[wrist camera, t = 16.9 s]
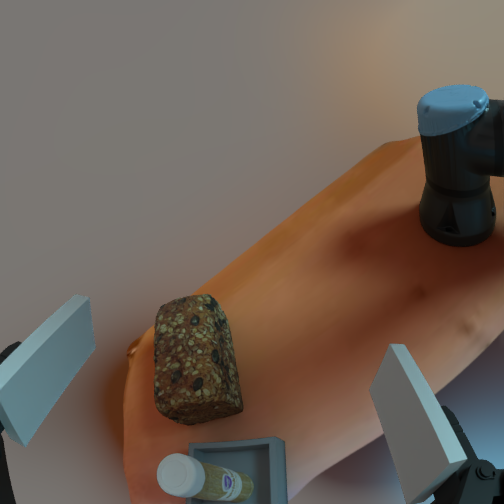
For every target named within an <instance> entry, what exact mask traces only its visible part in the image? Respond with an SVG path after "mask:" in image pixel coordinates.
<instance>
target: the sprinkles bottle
mask: <svg viewBox="0 0 504 504" xmlns="http://www.w3.org/2000/svg"><path fill="white" fill-rule="evenodd" d="M157 481H158V483H159V485H160V487H161V488H162V489H163V490H164V491H165V492H166V493H168V494H170V495H173V496H178V497H194V498H198V499H204V500H213V501H230V502H234V503H240V502H244V501H245V500H247V499H248V498H249V497H250V496H251V495H252V492H253V489H254V484H253V481H252V479H251V478H250V477H249V476H248V475H247V474H245V473H242V472H235V471H233V470H230V469H226V468H222V467H219V466H215V465H212V464H209V463H203V462H200V461H198V460H196V459H195V458H193V457H190V456H187V455H184V454H179V453H175V454H171V455H168V456H166V457H165V458H164V459H163V460H162V461H161V462H160V464H159V466H158V469H157Z"/></svg>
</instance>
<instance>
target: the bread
mask: <svg viewBox="0 0 504 504" xmlns="http://www.w3.org/2000/svg"><path fill="white" fill-rule="evenodd" d="M154 328H155V334H154V348H155V350H154V362H155V378H154V388H155V390H154V392H155V393H154V399H155V405H156V408H157V409H158V411H159V412H160V413H161V414H162V415H163V416H165V417H168V418H169V419H172V420H174V421H175V422H176V423H181V424H185V425H194V424H196V423H204V422H207V421H209V420H212V419H215V418H221V417H227V416H230V415H233V414H237V413H239V412H242V411H243V402H242V398H241V392H240V385H239V384H238V382H239V378H238V372H237V367H236V362H235V356H234V349H233V343H232V337H231V332H230V328H229V324H228V319H227V318H226V315H225V314H224V311H222V310H221V306H220V304H219V303H218V302H217V301H216V300H215V299H214V298H212V297H211V294H210V295H209V294H203V295H194V296H187V297H183V298H177V299H175V300H173V301H171V302H169V303H167V304H164V305H163V306H161V307H160V309H159V311H158V313H157V316H156V321H155V326H154Z"/></svg>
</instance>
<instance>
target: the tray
mask: <svg viewBox="0 0 504 504" xmlns="http://www.w3.org/2000/svg"><path fill="white" fill-rule="evenodd" d="M188 456H190V457H193V458H195V459H196V460H198V461H200V462H203V463H209V464H212V465H215V466H219V467H222V468H226V469H230V470H233V471H235V472H242V473H245V474H247V475H248V476H249V477H250V478H251V479H252V481H253V484H254V489H253V492H252V495H251V496H250V497H249V498H248V499H247V500H245V501H244V502H240V503H234V502H230V501H213V500H204V499H198V498H194V497H186V504H288V501H287V479H286V459H285V442H284V441H282V440H281V439H279V438H277V437H268V438H259V439H250V440H240V441H227V442H210V443H189V452H188Z"/></svg>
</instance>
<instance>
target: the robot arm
mask: <svg viewBox="0 0 504 504" xmlns="http://www.w3.org/2000/svg"><path fill="white" fill-rule="evenodd" d="M417 114H418V123H419V125H418V130H419V133H420V136H421V142H422V149H423V157H424V164H425V173H426V183H425V187H424V190H423V194H422V198H421V201H420V206H419V213H420V222H421V225H422V227H423V228H424V230H425V231H426V232H427V233H428V234H429V235H430V236H431V237H432V238H434V239H435V240H437V241H439V242H441V243H444V244H447V245H451V246H458V247H465V246H472V245H476V244H478V243H481V242H482V241H484V240H486V239H487V238H488V237H489V236H490V235H491V233H492V232H493V230H494V227H495V221H496V207H495V203H494V199H493V195H492V191H491V188H490V176H497V177H504V100H491V99H489V98H488V96H487V94H486V92H485V91H484V90H483V89H481V88H479V87H476V86H470V85H451V86H445V87H441V88H438V89H435V90H433V91H430V92H429V93H427V94H425V95H424V96H423V97H422V98H421V99H420V101H419V102H418V105H417ZM95 348H96V346H95V340H94V332H93V325H92V316H91V308H90V298H89V297H85V296H81V295H77V294H75V295H74V296H73V297H72V298H71V299H69V300H68V301H67V302H66V303H65V304H64V305H63V306H61V308H59V309H58V310H57V311H56V312H55V313H54V314H53V315H51V316H50V317H49V318H48V319H47V320H46V321H45V322H44V323H43V324H42V325H41V326H40V327H39V328H37V329H36V330H35V331H34V332H33V333H32V334H31V335H30V336H29V337H28V338H27V339H26V340H25V341H24V342H23V343H21V342H19V341H18V342H16V343H14V344H12V345H10V346H8V347H7V348H6V349H5V350H4V351H3V352H2V353H1V354H0V504H16V502H15V499H14V494H13V490H12V486H11V481H10V477H9V472H8V466H7V461H6V455H5V448H4V441H3V438H2V436H1V433H2V431H3V430H4V429H5V430H6V432H7V434H8V435H9V437H10V439H12V440H14V441H15V442H17V443H19V444H20V445H22V446H24V447H26V446H27V444H28V443H29V441H30V440H31V438H32V437H33V435H34V434H35V432H36V430H37V429H38V428H39V426H40V425H41V423H42V422H43V420H44V419H45V417H46V416H47V414H48V413H49V411H50V410H51V409H52V407H53V405H54V404H55V403H56V401H57V400H58V399H59V397H60V396H61V394H62V393H63V392H64V390H65V389H66V387H67V386H68V384H69V383H70V382H71V380H72V379H73V378H74V376H75V375H76V374H77V372H78V371H79V370H80V368H81V367H82V365H83V364H84V363H85V361H86V360H87V359H88V357H89V356H90V355H91V353H92V352H93V351H94V349H95ZM369 391H370V394H371V397H372V399H373V402H374V405H375V408H376V411H377V414H378V416H379V419H380V422H381V425H382V428H383V431H384V434H385V437H386V440H387V443H388V445H389V449H390V452H391V455H392V458H393V461H394V465H395V468H396V471H397V474H398V478H399V480H400V484H401V488H402V491H403V494H404V498H405V501H406V504H416V503H421V502H424V501H425V500H426V499H427V498H429V497H430V496H431V495H432V494H434V497H435V500H434V501H433V502H432V503H431V504H504V469H496V468H495V467H494V466H493V465H492V463H490V462H489V461H487V460H479V459H478V458H477V456H476V454H475V452H474V450H473V448H472V446H471V445H470V442H469V440H468V439H467V437H466V435H465V433H463V429H462V428H461V426H460V425H459V422H458V420H457V418H456V417H455V415H454V413H453V412H451V411H450V410H449V409H448V408H447V407H446V406H440V405H439V403H438V401H437V399H436V398H435V396H434V394H433V392H432V390H431V389H430V387H429V385H428V383H427V382H426V380H425V378H424V376H423V375H422V373H421V371H420V370H419V368H418V366H417V365H416V363H415V361H414V360H413V358H412V356H411V355H410V353H409V351H408V350H407V348H406V346H405V345H404V344H389V347H388V349H387V351H386V354H385V356H384V358H383V361H382V363H381V365H380V367H379V370H378V372H377V374H376V376H375V378H374V380H373V382H372V384H371V387H370V389H369Z"/></svg>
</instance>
